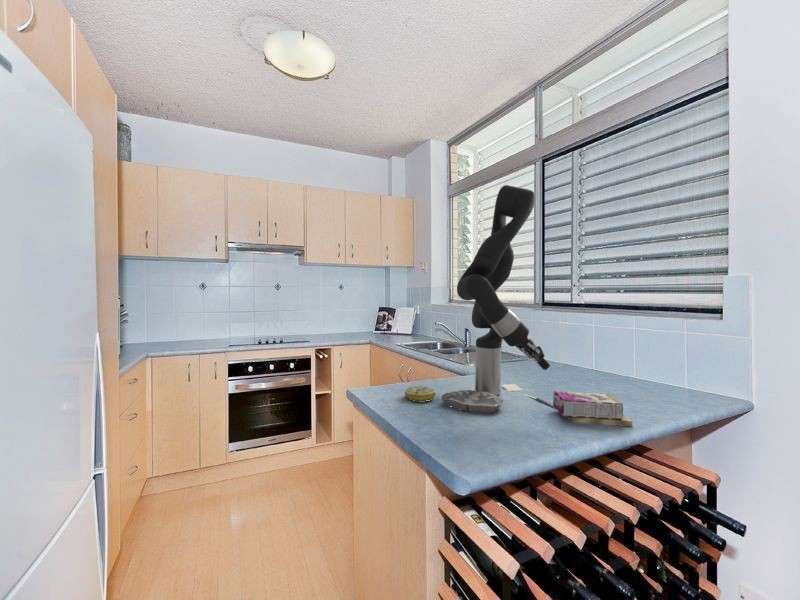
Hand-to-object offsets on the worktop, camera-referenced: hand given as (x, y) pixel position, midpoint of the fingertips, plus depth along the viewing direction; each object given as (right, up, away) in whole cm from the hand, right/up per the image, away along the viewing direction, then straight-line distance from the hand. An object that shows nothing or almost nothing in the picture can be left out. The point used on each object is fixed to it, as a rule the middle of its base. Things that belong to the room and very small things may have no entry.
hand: (546, 367), depth 112 cm
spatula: (+2, -15, +21) cm, 26 cm away
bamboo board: (+15, -15, +2) cm, 21 cm away
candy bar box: (+3, -11, +1) cm, 11 cm away
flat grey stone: (-20, -15, +10) cm, 27 cm away
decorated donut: (-38, -14, +17) cm, 44 cm away
